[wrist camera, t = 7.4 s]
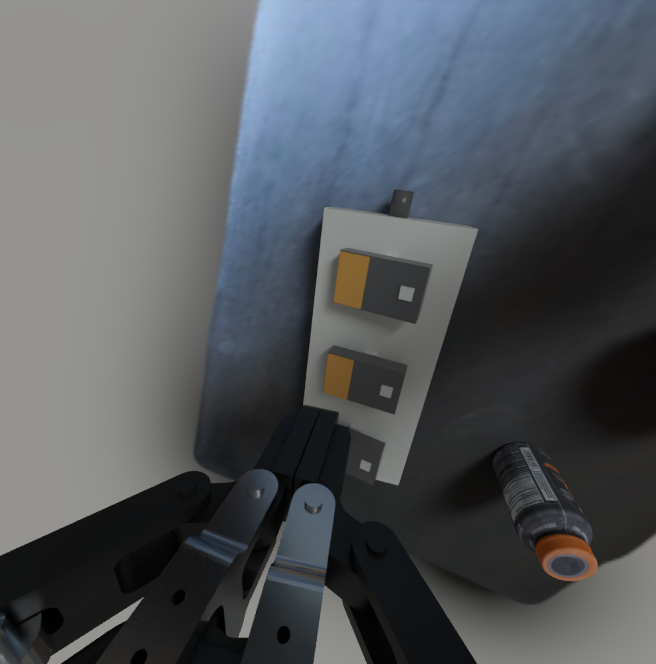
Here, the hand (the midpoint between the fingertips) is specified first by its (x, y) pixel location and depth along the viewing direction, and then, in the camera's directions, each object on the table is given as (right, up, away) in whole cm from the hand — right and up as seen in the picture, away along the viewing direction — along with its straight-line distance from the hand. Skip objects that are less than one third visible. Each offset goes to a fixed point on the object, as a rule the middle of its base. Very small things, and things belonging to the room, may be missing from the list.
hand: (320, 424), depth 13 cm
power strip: (+5, +2, +20) cm, 21 cm away
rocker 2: (+4, 0, +17) cm, 17 cm away
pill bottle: (+22, -11, +22) cm, 33 cm away
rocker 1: (+5, +8, +13) cm, 16 cm away
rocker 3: (+3, -8, +21) cm, 22 cm away
